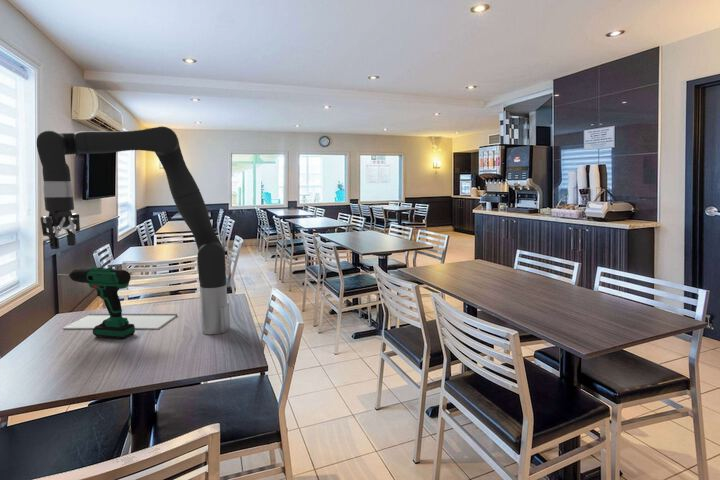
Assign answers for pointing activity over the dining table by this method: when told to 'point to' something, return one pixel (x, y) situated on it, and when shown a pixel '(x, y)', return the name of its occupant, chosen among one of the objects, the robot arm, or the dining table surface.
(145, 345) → the dining table surface
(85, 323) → the mat
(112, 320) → the power drill
